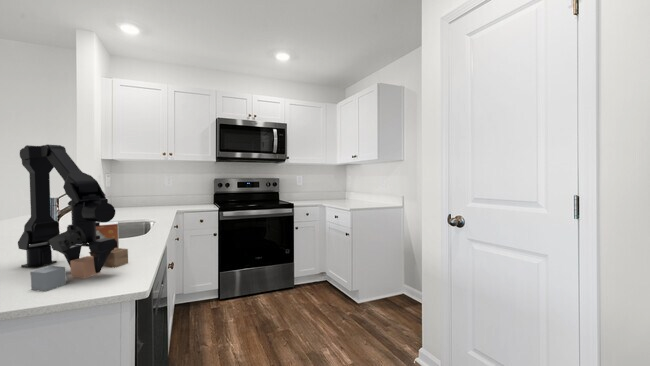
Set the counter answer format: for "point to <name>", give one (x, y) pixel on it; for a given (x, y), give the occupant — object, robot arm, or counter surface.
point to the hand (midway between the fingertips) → (85, 271)
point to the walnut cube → (117, 258)
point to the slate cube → (48, 278)
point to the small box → (108, 231)
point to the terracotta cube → (83, 267)
